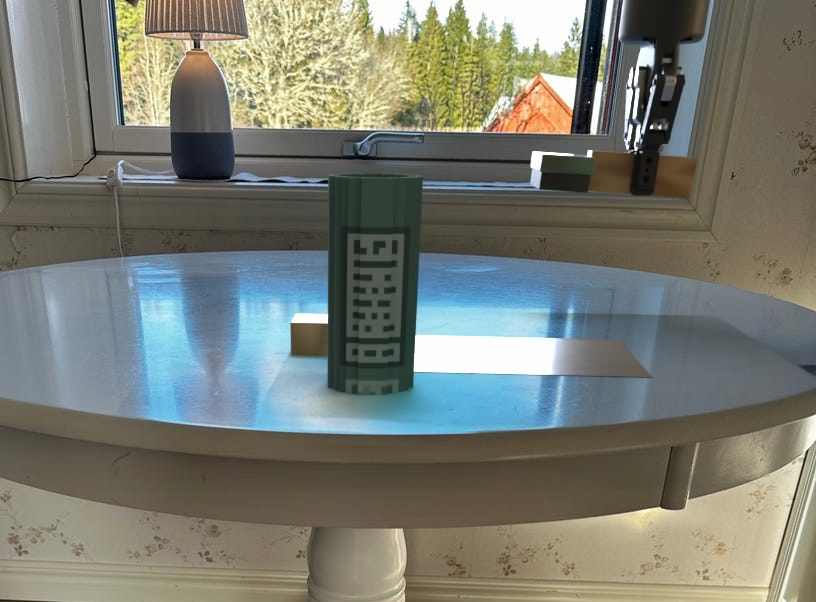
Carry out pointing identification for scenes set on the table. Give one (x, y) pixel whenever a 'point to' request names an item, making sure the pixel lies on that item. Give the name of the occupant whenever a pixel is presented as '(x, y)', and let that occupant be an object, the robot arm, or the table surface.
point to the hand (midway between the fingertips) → (637, 193)
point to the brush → (609, 173)
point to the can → (373, 281)
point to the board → (525, 356)
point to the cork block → (309, 335)
